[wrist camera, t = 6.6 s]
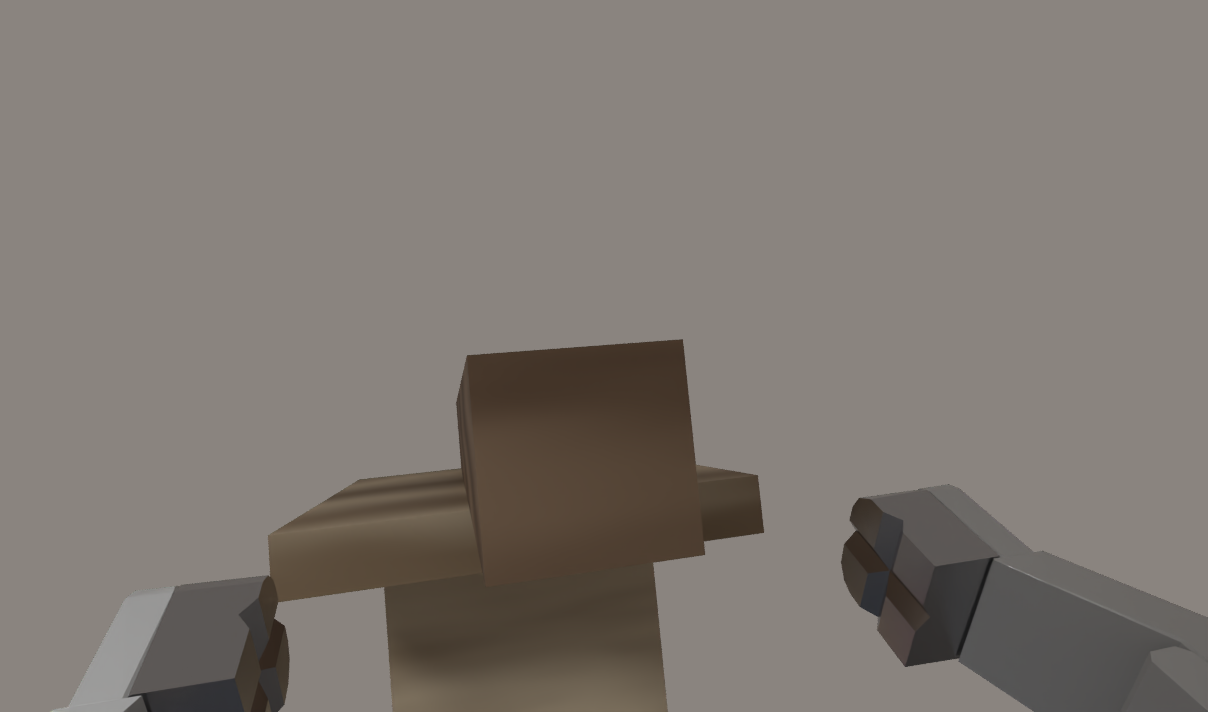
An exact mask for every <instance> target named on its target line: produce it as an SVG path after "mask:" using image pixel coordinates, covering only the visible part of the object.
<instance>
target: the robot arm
mask: <svg viewBox="0 0 1208 712" xmlns="http://www.w3.org/2000/svg"><path fill="white" fill-rule="evenodd" d="M850 521H851V523H852V525H853V526H854V528H855V529H856V531H855V532H854V533H853V535H852V536H851V537H850V538H849V539H848V540H847V541H846V543H845V544H844V548H843V554H842V561H841V564H842V570H843V575H844V581H845V583H846V585H847V587H848V589H849V592H850V593H851V595H852V597H853V598H854V599H855V601H856V602H857V604H858V605H859V606H860V607H861V608H863V609H865V610H866V611H868V612H870V613H872V614H874V615H876V616H877V617H878V627H877V630H878V632H879V633H880V634H881V636H882V637H883V638H884V640H885V641H886V642H887V644H888V645H889V646H890V648H891V649H892V650H893V652H895V654H896V656H897V657H898V658H899V659H900V661H901V662H902V663H903V665H904V666H905V667H908V666H914V665H920V664H926V663H932V662H938V661H945V660H950V659H957V658H959V662H960V663H962V664H963V665H965V666H966V667H968V668H969V669H971V670H972V671H974V672H975V673H977V674H978V675H980V676H981V677H983V678H984V679H986V680H987V681H989V682H990V683H992V684H993V685H995V686H996V687H998V688H999V689H1001V690H1002V691H1004V692H1006V693H1007V694H1008V695H1010V696H1011V697H1013V698H1014V699H1016V700H1017V701H1019V702H1020V703H1022V704H1023V705H1025V706H1027V707H1028V708H1029V709H1031V710H1032V711H1034V712H1208V617H1205V616H1203V615H1200V614H1198V613H1195V612H1193V611H1190V610H1188V609H1185V608H1183V607H1180V606H1178V605H1175V604H1173V603H1170V602H1168V601H1165V600H1163V599H1161V598H1158V597H1156V596H1153V595H1151V594H1148V593H1146V592H1143V591H1140V590H1138V589H1136V588H1133V587H1131V586H1128V585H1126V584H1123V583H1121V582H1118V581H1115V580H1114V579H1111V578H1109V577H1106V576H1104V575H1101V574H1099V573H1096V572H1094V571H1091V570H1089V569H1086V568H1084V567H1081V566H1079V565H1076V564H1074V563H1072V562H1069V561H1066V560H1064V559H1061V558H1059V557H1057V556H1054V555H1052V554H1049V553H1047V552H1044V551H1039V552H1033V551H1032V550H1031V549H1030V548H1028V547H1027V546H1026V545H1025V544H1024V543H1022V542H1021V541H1020V540H1019V539H1018V538H1017V537H1015V536H1014V535H1013V534H1012V533H1011V532H1010V531H1009V530H1007V529H1006V528H1005V527H1004V526H1003V525H1002V524H1000V523H999V522H998V521H997V520H996V519H995V518H993V517H992V516H991V515H990V514H988V513H987V512H986V511H985V510H984V509H983V508H982V507H980V506H979V505H978V504H977V503H976V502H975V501H973V500H972V499H971V498H970V497H969V496H968V495H967V494H965V493H964V492H963V491H962V490H961V489H959V488H957V487H954V486H951V485H949V484H948V485H941V486H935V487H928V488H922V489H918V490H913V491H906V492H899V493H891V494H884V495H877V496H871V497H863V498H859V499H858V500H857V502H856V503H855V505H854V506H853V508H852V512H851V516H850ZM278 600H279V598H278V595H277V591H276V587H275V584H274V580H273V579H272V578H271V577H269V576H259V577H249V578H241V579H231V580H222V581H213V582H204V583H195V584H186V585H181V586H174V587H165V588H156V589H147V590H138V591H135V592H133V593H132V594H131V595H130V596H128V597H127V598H126V599H125V600H124V601H123V603H122V605H121V607H120V609H119V611H118V613H117V615H116V617H115V619H114V620H113V622H112V624H111V626H110V628H109V630H108V632H107V634H106V636H105V638H104V639H103V641H102V643H101V645H100V647H99V649H98V651H97V653H96V655H95V657H94V659H93V660H92V662H91V664H90V666H89V668H88V670H87V672H86V674H85V676H84V677H83V679H82V681H81V683H80V685H79V687H78V689H77V691H76V693H75V695H74V696H73V698H72V700H71V702H70V704H69V706H68V707H66V708H61V709H54V710H52V711H50V712H278V711H279V710H280V709H281V708H282V707H283V705H284V703H285V698H286V693H287V688H288V679H289V648H288V639H287V634H286V629H285V626H284V625H283V624H281V623H280V622H278V621H277V620H275V619H274V617H275V613H276V609H277V605H278Z"/></svg>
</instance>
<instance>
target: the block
mask: <svg viewBox="0 0 1208 712" xmlns="http://www.w3.org/2000/svg"><path fill="white" fill-rule="evenodd" d="M456 405H457V417H458V429H459V443H460V456H461V469H462V475H463V480H464V485H465V490H466V495H467V500H468V504H469V509H470V514H471V519H472V524H473V529H474V534H475V539H476V543H477V548H478V553H479V558H480V563H481V568H482V573H483V578H484V582H485V587H491V586H498V585H504V584H511V583H518V582H525V581H532V580H538V579H545V578H552V577H559V576H565V575H572V574H579V573H586V572H592V571H599V570H606V569H613V568H620V567H626V566H633V565H640V564H647V563H653V562H660V561H667V560H674V559H680V558H687V557H694V556H701V555H705V549H704V539H703V530H702V520H701V510H700V501H699V491H698V481H697V472H696V462H695V453H694V443H693V433H692V424H691V414H690V404H689V395H688V385H687V375H686V366H685V356H684V346H683V340H668V341H655V342H643V343H642V342H641V343H628V344H615V345H602V346H588V347H574V348H561V349H548V350H534V351H520V352H507V353H493V354H481V355H467V358H466V362H465V367H464V371H463V376H462V380H461V384H460V389H459V393H458V398H457V402H456Z"/></svg>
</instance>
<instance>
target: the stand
mask: <svg viewBox="0 0 1208 712" xmlns="http://www.w3.org/2000/svg"><path fill="white" fill-rule="evenodd" d="M696 472H697V481H698V491H699V501H700V510H701V520H702V530H703V539H704V541H710V540H716V539H723V538H731V537H738V536H744V535H751V534H759V533H764V528H763V519H762V510H761V500H760V491H759V482H758V475H753V474H746V473H741V472H735V471H729V470H723V469H718V468H712V467H706V466H700V465H696ZM268 542H269V543H268V544H269V561H270V577H271V578H272V579H273V580H274V584H275V587H276V591H277V595H278V598H279V600H278V602H283V601H290V600H297V599H304V598H311V597H318V596H325V595H332V594H339V593H346V592H353V591H360V590H367V589H374V588H381V587H384V591H385V604H386V605H385V606H386V619H387V634H388V649H389V663H390V678H391V692H392V707H393V712H668V710H667V699H666V690H665V679H664V670H663V659H662V648H661V639H660V628H659V618H658V608H657V598H656V588H655V577H654V567H653V563H647V564H640V565H633V566H626V567H620V568H613V569H606V570H599V571H592V572H586V573H579V574H572V575H565V576H559V577H552V578H545V579H538V580H532V581H525V582H518V583H511V584H504V585H498V586H491V587H485V582H484V578H483V573H482V568H481V563H480V558H479V553H478V548H477V543H476V539H475V534H474V529H473V524H472V519H471V514H470V509H469V504H468V500H467V495H466V490H465V485H464V480H463V475H462V469H451V470H442V471H433V472H425V473H416V474H406V475H397V476H387V477H378V478H369V479H360V480H358V481H356V482H355V483H353V484H352V485H350V486H348V487H347V488H345V489H343V490H342V491H340V492H338V493H337V494H335V495H333V496H332V497H330V498H329V499H327V500H325V501H324V502H322V503H320V504H319V505H317V506H316V507H314V508H312V509H311V510H309V511H307V512H306V513H304V514H303V515H301V516H299V517H298V518H296V519H294V520H293V521H291V522H289V523H288V524H286V525H284V526H283V527H281V528H280V529H278V530H276V531H275V532H273V533H271V534H270V535H268Z"/></svg>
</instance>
